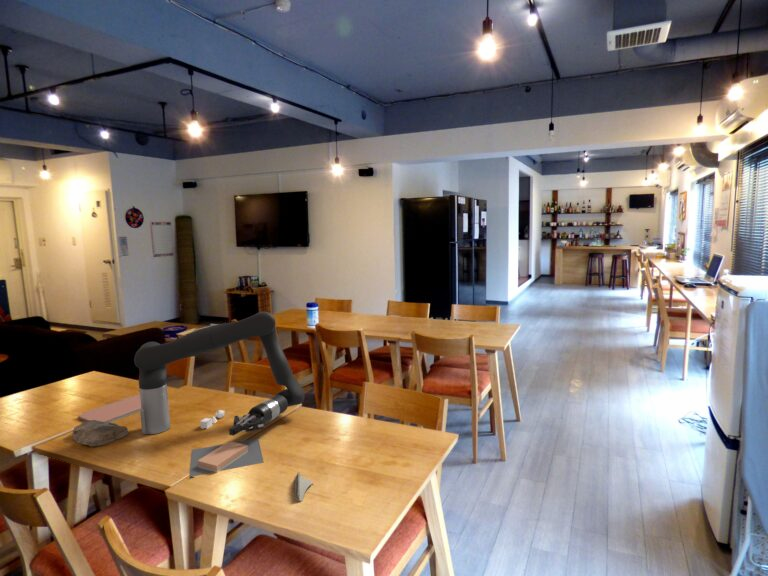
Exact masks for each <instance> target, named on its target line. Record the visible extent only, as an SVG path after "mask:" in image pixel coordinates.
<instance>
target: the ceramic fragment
mask: <svg viewBox="0 0 768 576" xmlns="http://www.w3.org/2000/svg"><path fill="white" fill-rule="evenodd" d="M311 485H312V486H313V485H314V482H313V481H311V480H310V479H308V478H305V477H303V476H302V475H301V472H300V471H298V472H297V474H296V476H295V479H294V496H295V497H294V498H295V501H296V502H297V503H302V502H303V501H304V497H305V495H306V492H307V490H309V488H311Z"/></svg>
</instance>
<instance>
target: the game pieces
mask: <svg viewBox="0 0 768 576" xmlns="http://www.w3.org/2000/svg"><path fill="white" fill-rule="evenodd" d="M225 415H226V411H225V410H223V409H219V410H217V411H216V412H215V415H213V416H212V417H211V418H208V417H204V418H202V420H200V421H199V423H200V429H204V428H206V430H208V429H210V428H211V427H213V424H212V423H214V424H216V422H217V421H218V419H222V418H224V417H225ZM217 423H218V422H217ZM209 427H210V428H209Z"/></svg>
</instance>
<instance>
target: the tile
mask: <svg viewBox="0 0 768 576" xmlns="http://www.w3.org/2000/svg"><path fill="white" fill-rule="evenodd" d="M235 442H236V441H235ZM235 442H234V441H230V440H229V441H227V442H225V443H223V444H224V445H222V444H221V445H222V446H221V447H219V448H217V449H216V450H214V451H212V452H211V453H209V454H208V455H206V456H204V457H203V458H201V459H199V460H198V467H199V468H203V469H206V470H210V471H214V472H213V473H219V472H221V471H220V470H222V469H223V468H225V467H226V466H228V465H229V464H231V463H232V462H234V461H235V460H237V459H238V458H239V457H241V456H242V455H244V454H245V453H247V452H248V445H244V444H239V443H235Z"/></svg>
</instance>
